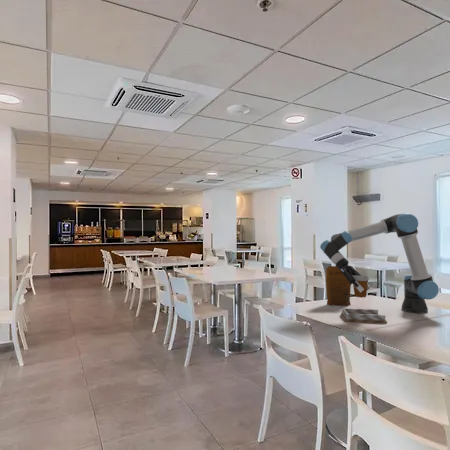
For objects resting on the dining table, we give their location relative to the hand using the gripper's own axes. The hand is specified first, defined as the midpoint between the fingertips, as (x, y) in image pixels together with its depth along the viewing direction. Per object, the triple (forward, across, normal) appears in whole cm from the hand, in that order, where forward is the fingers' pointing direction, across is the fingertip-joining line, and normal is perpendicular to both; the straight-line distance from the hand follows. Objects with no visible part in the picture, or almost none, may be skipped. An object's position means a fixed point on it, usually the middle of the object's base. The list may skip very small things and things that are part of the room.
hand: (365, 289), depth 202 cm
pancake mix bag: (-8, -28, -33) cm, 44 cm away
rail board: (+11, -1, -14) cm, 18 cm away
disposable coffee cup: (+1, 0, -5) cm, 5 cm away
